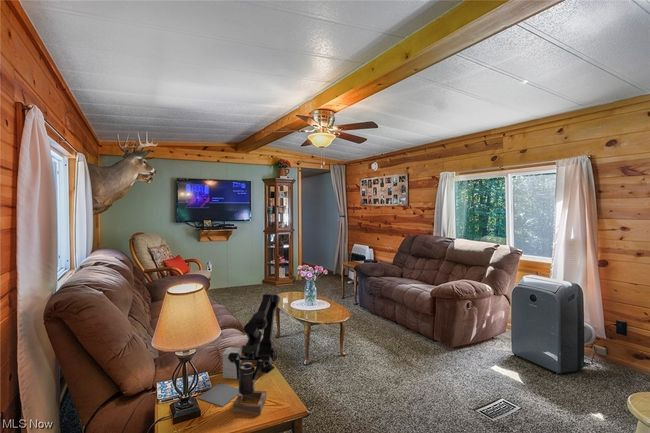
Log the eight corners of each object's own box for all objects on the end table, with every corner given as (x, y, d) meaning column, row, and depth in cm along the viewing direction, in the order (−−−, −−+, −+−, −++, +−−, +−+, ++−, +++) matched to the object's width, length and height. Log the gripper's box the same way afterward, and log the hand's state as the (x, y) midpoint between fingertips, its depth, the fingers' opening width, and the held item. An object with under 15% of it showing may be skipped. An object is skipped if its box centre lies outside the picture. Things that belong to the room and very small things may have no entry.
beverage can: (257, 391, 149) (258, 364, 149) (246, 398, 144) (246, 371, 143) (247, 386, 153) (247, 360, 152) (235, 393, 147) (235, 366, 147)
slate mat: (219, 383, 165) (219, 382, 165) (243, 390, 159) (243, 389, 159) (198, 398, 153) (198, 397, 153) (222, 407, 147) (222, 406, 147)
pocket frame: (241, 397, 154) (241, 390, 154) (266, 398, 154) (266, 391, 153) (233, 413, 143) (233, 405, 142) (260, 414, 142) (260, 406, 142)
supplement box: (241, 371, 177) (241, 348, 176) (236, 379, 169) (236, 354, 169) (227, 370, 178) (227, 347, 177) (222, 378, 170) (222, 353, 170)
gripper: (229, 334, 152) (219, 371, 142) (270, 337, 150) (263, 374, 140) (235, 344, 160) (226, 379, 150) (274, 346, 158) (268, 382, 148)
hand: (245, 379), depth 147 cm, fingers closed on beverage can, 7 cm apart
